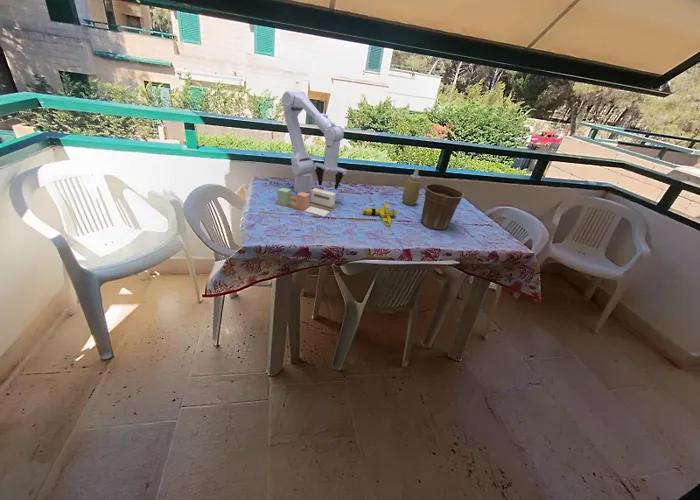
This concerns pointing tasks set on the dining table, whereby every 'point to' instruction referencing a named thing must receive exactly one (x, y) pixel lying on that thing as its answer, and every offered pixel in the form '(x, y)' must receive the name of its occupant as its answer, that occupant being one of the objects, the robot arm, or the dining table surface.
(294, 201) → the service board
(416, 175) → the squeeze bottle
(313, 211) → the mat
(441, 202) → the plant pot
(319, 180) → the robot arm
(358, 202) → the dining table surface
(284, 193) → the sage block
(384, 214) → the sprinkler
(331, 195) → the mounted unit
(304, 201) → the terracotta block
